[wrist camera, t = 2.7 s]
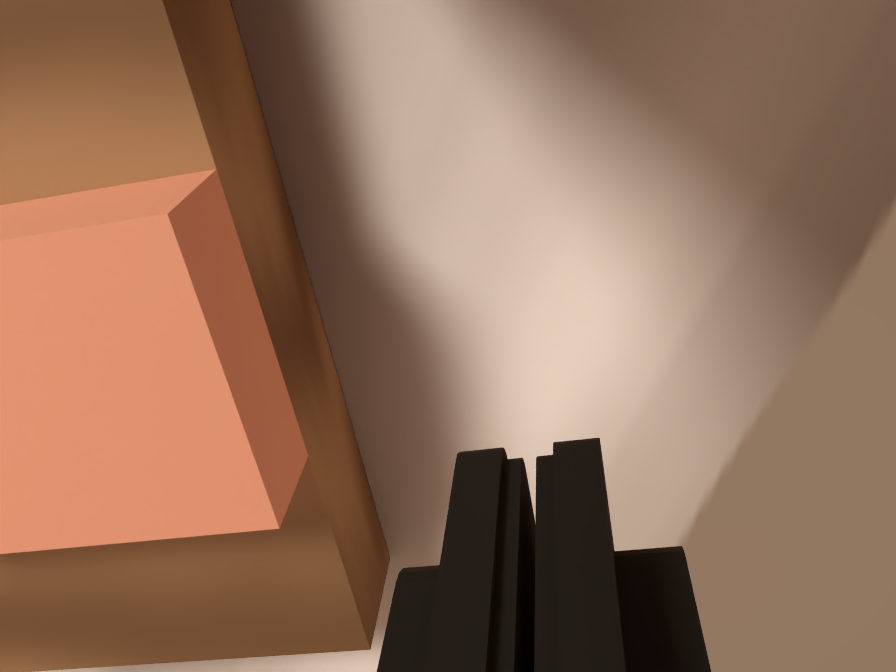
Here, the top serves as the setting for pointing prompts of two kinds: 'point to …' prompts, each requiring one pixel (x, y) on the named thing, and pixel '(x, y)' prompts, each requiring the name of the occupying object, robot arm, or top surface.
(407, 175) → the top surface
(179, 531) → the coral block
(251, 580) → the board
